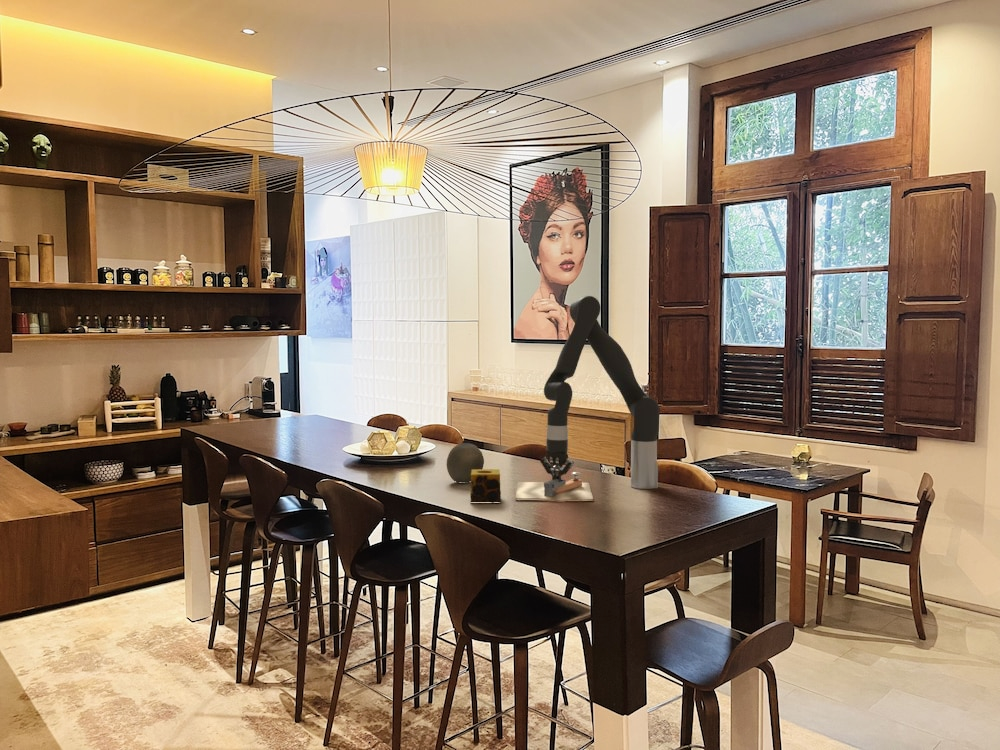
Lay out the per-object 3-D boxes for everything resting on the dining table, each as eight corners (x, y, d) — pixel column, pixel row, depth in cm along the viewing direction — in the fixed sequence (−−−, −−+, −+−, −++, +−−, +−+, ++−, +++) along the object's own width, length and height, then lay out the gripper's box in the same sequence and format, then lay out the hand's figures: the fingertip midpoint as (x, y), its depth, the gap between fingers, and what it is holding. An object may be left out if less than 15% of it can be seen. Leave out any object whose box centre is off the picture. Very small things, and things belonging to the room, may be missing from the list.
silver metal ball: (580, 479, 277) (580, 471, 277) (580, 480, 273) (580, 473, 273) (570, 479, 277) (570, 471, 277) (571, 480, 274) (571, 473, 273)
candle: (500, 504, 252) (500, 474, 252) (470, 504, 252) (470, 474, 252) (500, 497, 262) (500, 468, 262) (471, 497, 262) (471, 469, 262)
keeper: (555, 491, 267) (555, 478, 267) (565, 492, 265) (565, 480, 264) (543, 496, 260) (543, 482, 260) (553, 497, 258) (553, 484, 257)
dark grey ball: (444, 486, 281) (444, 446, 280) (448, 479, 295) (448, 441, 294) (483, 487, 280) (483, 446, 280) (485, 479, 295) (484, 441, 294)
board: (588, 485, 283) (588, 482, 283) (593, 501, 255) (593, 498, 255) (518, 484, 285) (518, 482, 285) (515, 500, 257) (515, 498, 257)
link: (573, 484, 278) (573, 478, 278) (584, 485, 276) (584, 479, 276) (547, 492, 264) (547, 486, 264) (558, 493, 262) (558, 487, 261)
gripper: (578, 438, 269) (578, 486, 270) (546, 435, 276) (545, 482, 277) (568, 440, 263) (567, 490, 264) (535, 437, 270) (535, 485, 271)
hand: (556, 486), depth 271 cm, fingers closed
